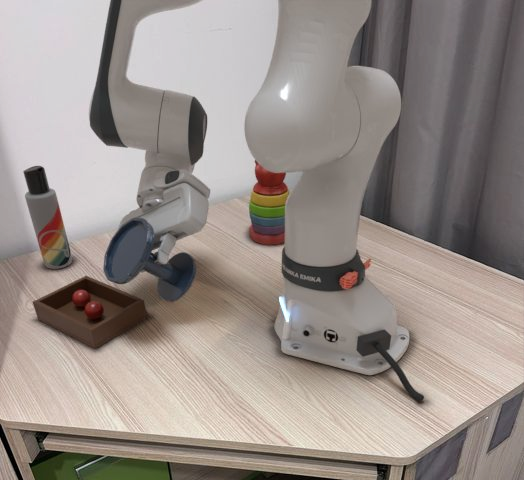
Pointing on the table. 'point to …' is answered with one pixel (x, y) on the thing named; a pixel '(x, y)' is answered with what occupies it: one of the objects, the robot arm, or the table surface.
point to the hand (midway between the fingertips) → (150, 266)
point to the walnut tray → (78, 324)
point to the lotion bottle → (47, 219)
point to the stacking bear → (268, 207)
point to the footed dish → (146, 261)
